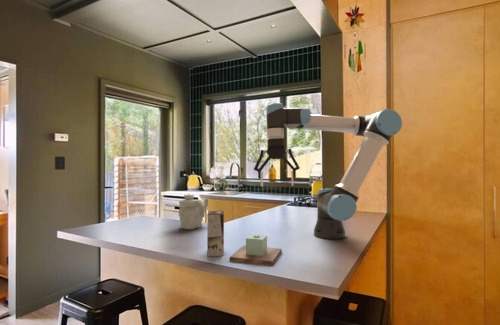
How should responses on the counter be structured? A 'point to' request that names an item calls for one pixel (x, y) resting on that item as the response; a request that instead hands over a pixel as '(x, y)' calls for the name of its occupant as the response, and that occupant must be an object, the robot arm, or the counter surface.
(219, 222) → the coffee box
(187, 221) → the teapot
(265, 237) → the pale green cube
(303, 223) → the counter surface
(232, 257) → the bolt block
